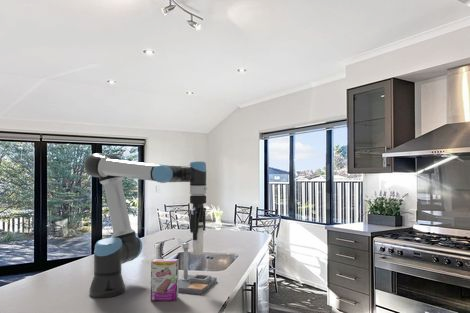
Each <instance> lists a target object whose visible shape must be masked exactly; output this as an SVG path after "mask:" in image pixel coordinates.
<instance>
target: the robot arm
mask: <svg viewBox="0 0 470 313" xmlns="http://www.w3.org/2000/svg"><path fill="white" fill-rule="evenodd" d="M83 164H84V165H83V167H84V170H85V173H86V174H88V175H89V176H90V177H92V178H98V180H99V183H100V184H101V185H103V188H104V194H105V198H106V203H107V209H108V213H109V218H110V223H111V228H112V229H111V230H112V235H111V236H110V237H107V238H101V239H100V240H97V241H96V243H95V244H94V250H93V254H94V255H93V256H94V258H93V277H92V281H91V284H90V288H89V296H90V297H92V298H100V299H102V298H103V299H104V298H112V297H117V296H120V295H121V294H124V293H125V291H126V284H125V282H124V278H123V274H122V265H123V264H126V263H128V262H132V261H133V260H135V259H137V258H138V257H139V256H140V255H141V254H142V250H143V241H142V239H141V238H140V237H139V236H138V235H136V231H135V229H132V227H131V222H130V217H129V213H128V211H129V210H128V208H127V202H126V198H125V197H126V195H125V192H124V188H123V184H122V181H123V180H124V179H125V178H128V179H137V180H144V181H151V182H157V183H160V184H166V183H189V194H190V195H189V203H190V204H192V209H189V220H190V221H189V229H190V230H189V231H190V233H191V234H192V248H193V247H197V248H198V247H199V233H198V225H199V222H203V224H204V227H203V232H205V231H206V221H207V220H206V215H207V214H206V213H207V207H204V204H207V190H208V188H207V171H208V170H207V163H206V162H205V161H202V160H201V161H190V163H189V165H166V164H157V163H148V162H139V161H132V160H124V159H123V157H121V156H119V155H116V154H114V153H100V152H98V153H97V152H96V153H91V154H90V155H88V156H87V157H86V159H85V160H84V163H83Z"/></svg>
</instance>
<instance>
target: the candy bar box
mask: <svg viewBox="0 0 470 313" xmlns="http://www.w3.org/2000/svg"><path fill="white" fill-rule="evenodd" d="M179 261H180V260H179V259H177V258H176V259H175V258H174V259H173V258H171V259H167V258H166V259H165V258H164V259H163V258H158V259H157V258H154V259H152V261H151V265H150V267H151V268H150V271H151V272H150V301H151V302H155V301H156V302H158V301H159V302H161V301H162V302H165V301H167V302H169V301H170V302H173V301H175V302H176V301H177V300H178V297H179V292H178V280H179V270H180V265H179Z"/></svg>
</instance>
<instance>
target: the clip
mask: <svg viewBox="0 0 470 313" xmlns="http://www.w3.org/2000/svg"><path fill="white" fill-rule="evenodd" d="M177 245H179V246H180V247H181V248H182V250H184V249H188V250H189V249H190V242H187V241H185V240H183V239H181V238H178V239H177Z"/></svg>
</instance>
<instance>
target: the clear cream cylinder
mask: <svg viewBox="0 0 470 313" xmlns="http://www.w3.org/2000/svg"><path fill="white" fill-rule="evenodd" d="M203 227H204V224H203V222H199V225H198V233H199V247H198V248H197V247H193V246H192V248H193V249H192V250H193V253H192V254H193V255H196V256H197V255H198V256H199V255H203V254H204V231H203Z"/></svg>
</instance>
